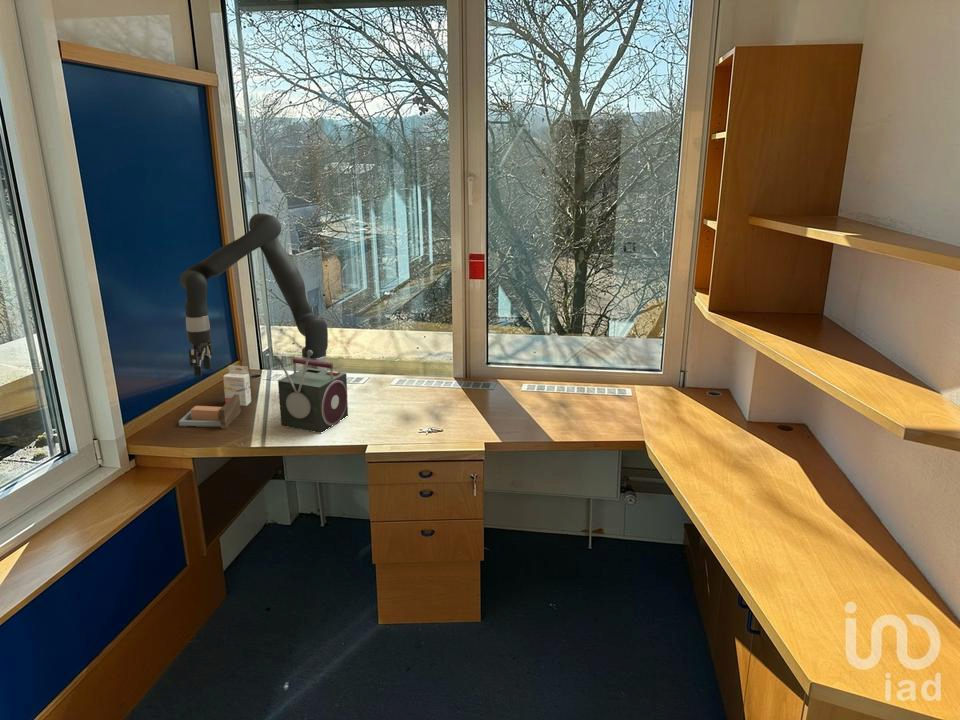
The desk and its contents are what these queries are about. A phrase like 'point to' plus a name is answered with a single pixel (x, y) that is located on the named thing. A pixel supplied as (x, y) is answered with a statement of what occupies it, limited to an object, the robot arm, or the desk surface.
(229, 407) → the board
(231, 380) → the ink cartridge box
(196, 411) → the bar
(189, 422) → the tray
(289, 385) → the boombox
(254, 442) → the desk surface
